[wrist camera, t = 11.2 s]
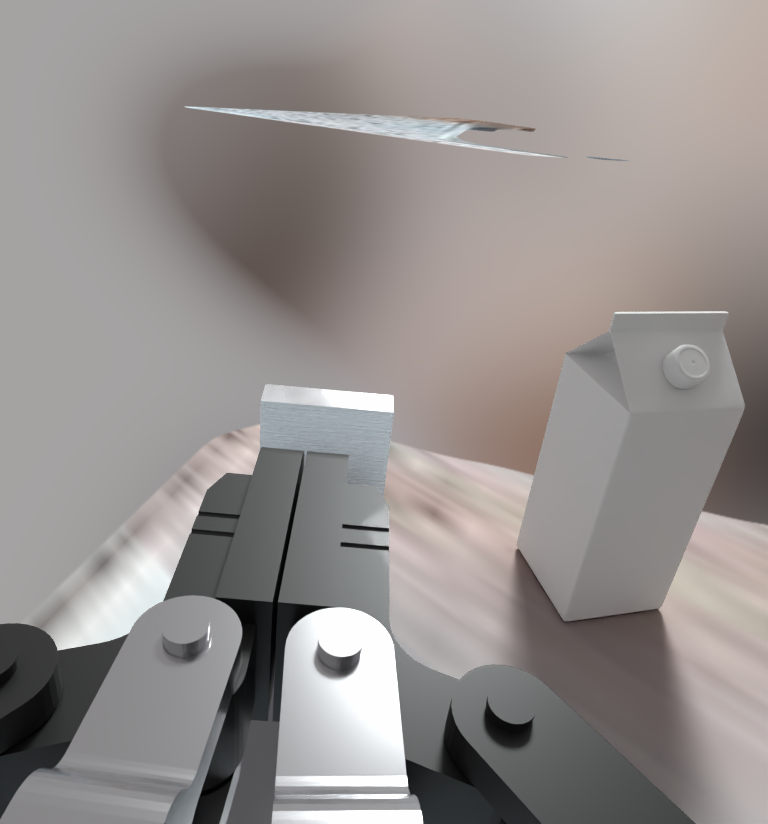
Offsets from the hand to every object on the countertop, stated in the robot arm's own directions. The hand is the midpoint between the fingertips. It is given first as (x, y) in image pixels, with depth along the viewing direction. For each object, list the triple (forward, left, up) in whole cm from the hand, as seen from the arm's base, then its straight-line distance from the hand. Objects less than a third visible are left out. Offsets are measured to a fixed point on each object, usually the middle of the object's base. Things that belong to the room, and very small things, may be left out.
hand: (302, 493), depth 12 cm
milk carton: (-25, -17, -24) cm, 38 cm away
